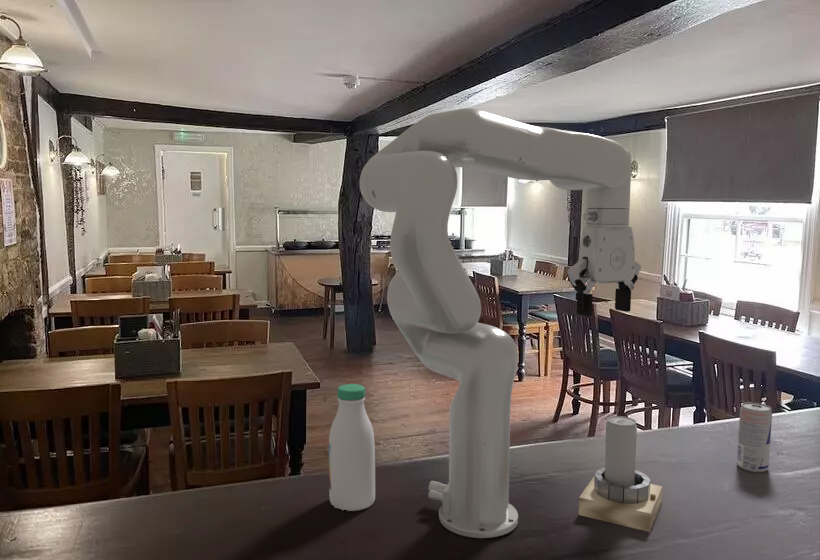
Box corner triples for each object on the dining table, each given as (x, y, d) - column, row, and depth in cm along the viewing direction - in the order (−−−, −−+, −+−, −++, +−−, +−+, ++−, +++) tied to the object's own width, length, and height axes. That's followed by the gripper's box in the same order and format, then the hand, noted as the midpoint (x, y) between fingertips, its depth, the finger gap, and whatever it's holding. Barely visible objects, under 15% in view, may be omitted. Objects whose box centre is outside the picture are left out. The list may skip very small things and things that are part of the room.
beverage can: (639, 490, 107) (642, 420, 106) (626, 500, 104) (629, 427, 102) (611, 481, 111) (614, 413, 109) (598, 491, 107) (601, 420, 106)
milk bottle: (384, 501, 110) (384, 386, 108) (350, 517, 105) (349, 396, 102) (354, 487, 115) (352, 378, 113) (320, 502, 110) (318, 387, 107)
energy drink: (769, 465, 125) (773, 405, 123) (767, 475, 120) (771, 412, 119) (738, 459, 128) (741, 400, 126) (735, 468, 123) (738, 407, 122)
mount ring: (589, 496, 105) (589, 481, 105) (601, 476, 113) (602, 463, 112) (643, 508, 101) (644, 493, 101) (653, 487, 108) (654, 473, 108)
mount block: (578, 514, 105) (579, 493, 105) (595, 489, 115) (596, 469, 114) (649, 532, 100) (650, 509, 99) (661, 503, 109) (662, 482, 109)
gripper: (587, 220, 109) (583, 320, 111) (657, 218, 117) (652, 312, 119) (556, 218, 115) (553, 314, 117) (624, 217, 124) (621, 306, 126)
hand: (603, 312), depth 118 cm, fingers open, 9 cm apart
